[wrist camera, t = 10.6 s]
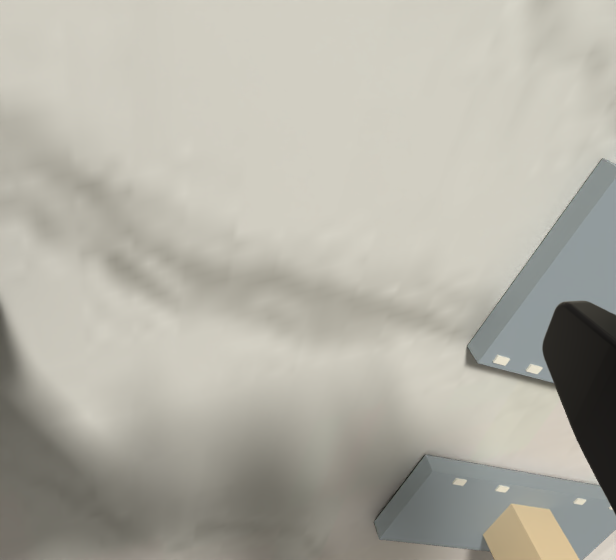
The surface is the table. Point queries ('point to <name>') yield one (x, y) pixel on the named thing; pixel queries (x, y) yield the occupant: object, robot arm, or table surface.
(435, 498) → the grey slab with post
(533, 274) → the board
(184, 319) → the table surface
